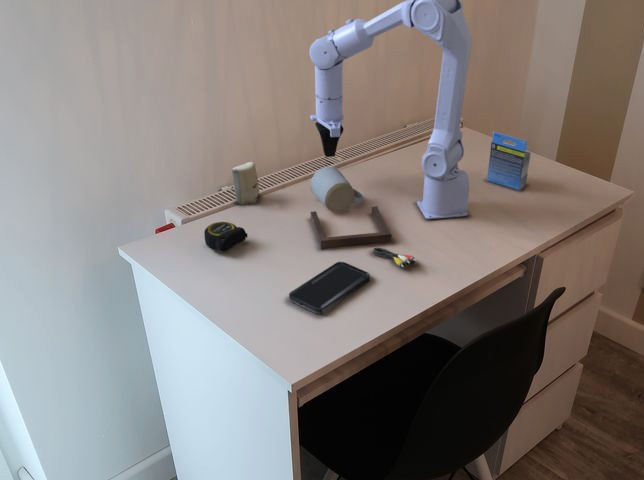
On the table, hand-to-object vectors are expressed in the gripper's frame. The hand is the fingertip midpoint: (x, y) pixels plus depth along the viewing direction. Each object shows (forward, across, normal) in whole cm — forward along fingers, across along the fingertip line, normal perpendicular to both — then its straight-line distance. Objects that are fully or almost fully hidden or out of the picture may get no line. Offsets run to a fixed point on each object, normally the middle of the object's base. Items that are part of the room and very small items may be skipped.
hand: (329, 155), depth 161 cm
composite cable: (+7, +35, +6) cm, 36 cm away
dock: (+7, +22, 0) cm, 23 cm away
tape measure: (+7, +24, -25) cm, 35 cm away
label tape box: (+7, +6, +41) cm, 42 cm away
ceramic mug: (+7, +10, 0) cm, 12 cm away
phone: (+7, +42, -8) cm, 44 cm away
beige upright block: (+7, +4, -19) cm, 21 cm away
